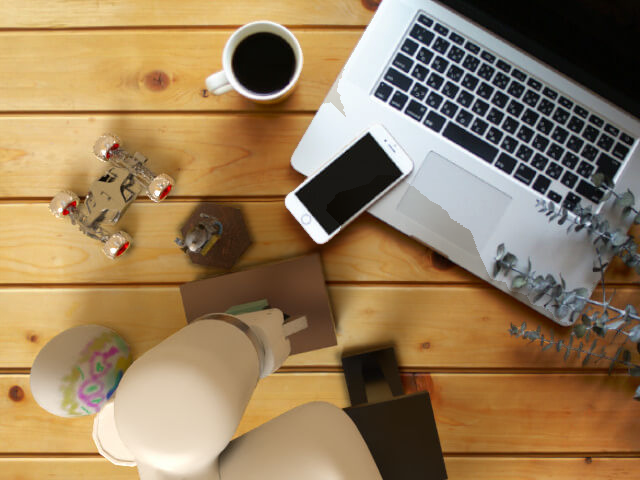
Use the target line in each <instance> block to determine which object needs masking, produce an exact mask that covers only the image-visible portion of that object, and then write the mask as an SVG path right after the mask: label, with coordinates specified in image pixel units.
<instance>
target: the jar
mask: <svg viewBox="0 0 640 480" xmlns="http://www.w3.org/2000/svg"><path fill="white" fill-rule="evenodd" d="M117 388H118V387H117ZM116 391H117V389H116V390H115V391H114V393H113V394H112V395H111V397H110V398H109V399H108V401H107V402H106V403H105V404H104V406H103V407H102V408H101V410H100V411H99V412H97V413H96V415H95V416H94V419H93V428H92V434H91V437H92V439H93V441H94V443H95V446H96V448H97V451H98V453H99V454H100V455H101V456H102V457H104V458H105V459H106V460H108V461H109V462H110V463H112V464H113V465H116V466H124V467H132V468H134V467H137V464H136V460H135V456H134V455H132V453H131V452H130V451H129V450H128V449H127V448H126V447H125V445H124V443H123V442H122V440H121V438H120V437H119V434H118V431H117V429H116V425H115V420H114V400H115V394H116Z"/></svg>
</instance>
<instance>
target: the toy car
mask: <svg viewBox="0 0 640 480" xmlns="http://www.w3.org/2000/svg"><path fill="white" fill-rule="evenodd" d="M123 145H124V144H123V141H122V139H121V138H120V137H118V135H116V134H115V133H114V132H113V133H112V132H110V131H109V132H108V131H107V132H106V133H103V134H102V135H100V137H99V138H97V140H96V141H95V142H94V145H93V146H92V149H91V151H92V153H93V155H94V156H95V157H96V158H97V159H98V160H100V161H102V162H104V163H106V162H107V163H108V162H111V164H113V165H114V166H110V167H109V168H108V169H107V170H106V171H105V172H104V173H103V174H101V175H100V176H98V178H97V179H95V180H94V181H93V182H92V183H91V185H90V186H89V189H88V192H87V195H86V197H85V199H84V200H83V201H84V202H83V203H84V207H85V208H86V211H87V214H85V213H84V212H83V211H82V210H81V209H80V208H78V207H79V205H80V202H81V200H80V198H79V196H78V195H77V194H76V193H75V192H73V191H72V190H69V189H64V190H61V191H60V192H57V193H56V194H55V196H53V198H52V199H51V200H50V202H49V203H48V205H49V206H48V210H49V212H50V213H51V214H52V215H53V216H54V217H56V218H57V219H61V220H62V219H66V218H68V217H69V219H70V223H71V225H73V226H76V225H78V226H79V227H78V231H80V232H82V233H83V235H86V236H87V237H89V238H90V239H94V240H96V241H100V243H101V244H103V246H102V249H101V250H102V252H103V253H104V255H105V256H107V258H109V259H111V260H118V259H119V258H120V257H122V256H123V255H124V254H125V253H126V252H127V251H128V250H129V248H130V247H131V245H132V242H133V238H132V237H131V236H130V234H128V233H127V232H125V231H123V230H117V231H116V232H114V233H113V234H112V233H111V232H109V231H107V230H106V229H105V228H103V227H102V226H101V225H109V226H116V225H117V224H119V222H120V220H121V219H122V218H123V217H124V215H125V214H126V212H127V211H128V210H129V208H130V207H131V206H132V205H133V203H134V202H135V201H136V199H138V197H139V195H140V194H141V193H142V187H143V188H145V190H146V191H145V193H146V196H147V197H149V199H151V201H153V202H155V203H158V204H159V203H162V201H164V200H165V199H166V198H167V197H168V196H169V195H170V194H171V192H172V191H173V189H174V187H175V184H176V183H175V180H174V179H173V178H172V177H171V176H170V175H168V174H166V173H163V172H162V173H159V174H156V173H155V172H154V171H152V170H151V169H150V168H148V167H147V166H146V165H147V162H148V161H149V158H148V157H147V156H146V155H144V154H143V153H142V152H140V151H136V152H135V153H134V154H133V155H131V154H130V153H129V152H128V151H127V150H126V149H124V148H123ZM126 156H128V158H127V157H126ZM114 159H115V160H114ZM119 163H120V164H122V165H123V166H124V167H122V166H121V165H120V164H119ZM115 166H116V167H115ZM138 177H139V178H140V179H141V180H143V181H144V182H147V184H149V185H148V186H147V185H145V184H144V182H142V181H140V180H139V179H138ZM150 177H151V178H150ZM141 186H142V187H141ZM80 214H81V215H80ZM98 230H99V231H98ZM104 233H105V234H104ZM98 235H99V236H98Z"/></svg>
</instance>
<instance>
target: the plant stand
mask: <svg viewBox="0 0 640 480" xmlns="http://www.w3.org/2000/svg"><path fill="white" fill-rule="evenodd" d="M340 362H341V366H342V370H343V374H344V379H345V384H346V388H347V392H348V397H349V402H350V406H346V407H342V408H341V409H342V410H343V411H344V412H345V413H346V414H347V415H348V416H349V417H350V418H351V420H352V421H353V422H354V424H355V425H356V427H357V429H358V430H359V432H360V434H361V436H362V438H363V439H364V441H365V443H366V445H367V447H368V449H369V451H370V453H371V455H372V457H373V460H374V462H375V464H376V466H377V468H378V470H379V472H380V475H381V477H382V479H383V480H449V475H448V471H447V467H446V461H445V458H444V454H443V449H442V445H441V439H440V436H439V431H438V425H437V422H436V416H435V413H434V408H433V404H432V399H431V395H430V392H429V390H428V389H424V390H419V391H415V392H410V393H406V394H405V391H404V388H403V383H402V379H401V378H402V377H401V374H400V370H399V365H398V364H399V363H398V361H397V355H396V351H395V346H394V345H393V344H390V345H385V346H381V347H377V348H372V349H368V350H362V351H359V352H354V353H350V354H344V355H340Z"/></svg>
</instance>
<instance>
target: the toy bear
mask: <svg viewBox="0 0 640 480" xmlns="http://www.w3.org/2000/svg"><path fill="white" fill-rule="evenodd" d="M265 306H268V302H267V299H264V300H260V301H255V302H251V303H246V304H242V305H237V306H233V307H231V308H230V309H228V310H227V311H226V312H224V313H225V314H231V315H234V316H236V315H241V314H246V313H251V312H256V311H262V309H264V307H265Z"/></svg>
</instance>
